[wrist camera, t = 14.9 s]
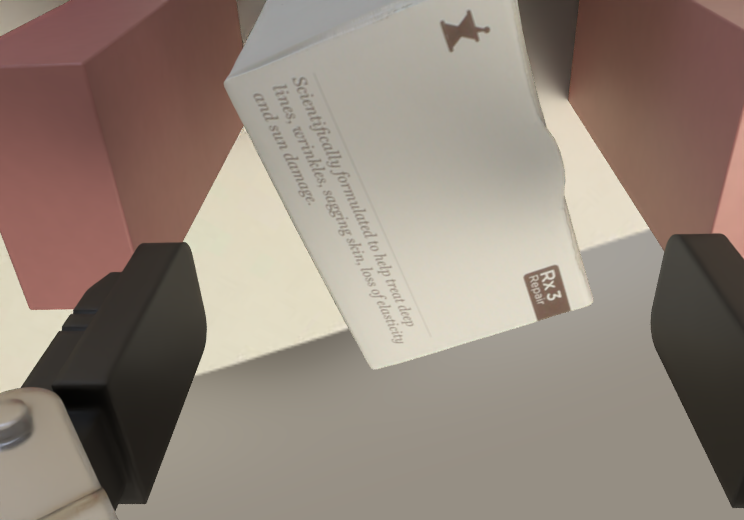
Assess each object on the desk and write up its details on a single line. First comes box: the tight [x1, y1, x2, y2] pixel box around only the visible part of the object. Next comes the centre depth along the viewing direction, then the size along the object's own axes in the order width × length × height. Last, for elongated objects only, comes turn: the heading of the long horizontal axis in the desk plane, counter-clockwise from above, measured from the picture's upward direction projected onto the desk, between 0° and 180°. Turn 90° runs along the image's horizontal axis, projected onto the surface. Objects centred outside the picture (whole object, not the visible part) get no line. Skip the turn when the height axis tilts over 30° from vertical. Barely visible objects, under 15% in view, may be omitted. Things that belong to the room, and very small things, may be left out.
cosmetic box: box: [224, 0, 593, 369], centre depth 20 cm, size 8×6×15 cm
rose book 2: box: [568, 0, 744, 259], centre depth 20 cm, size 6×3×14 cm, turn 3°
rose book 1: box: [0, 0, 244, 310], centre depth 21 cm, size 6×3×14 cm, turn 2°
